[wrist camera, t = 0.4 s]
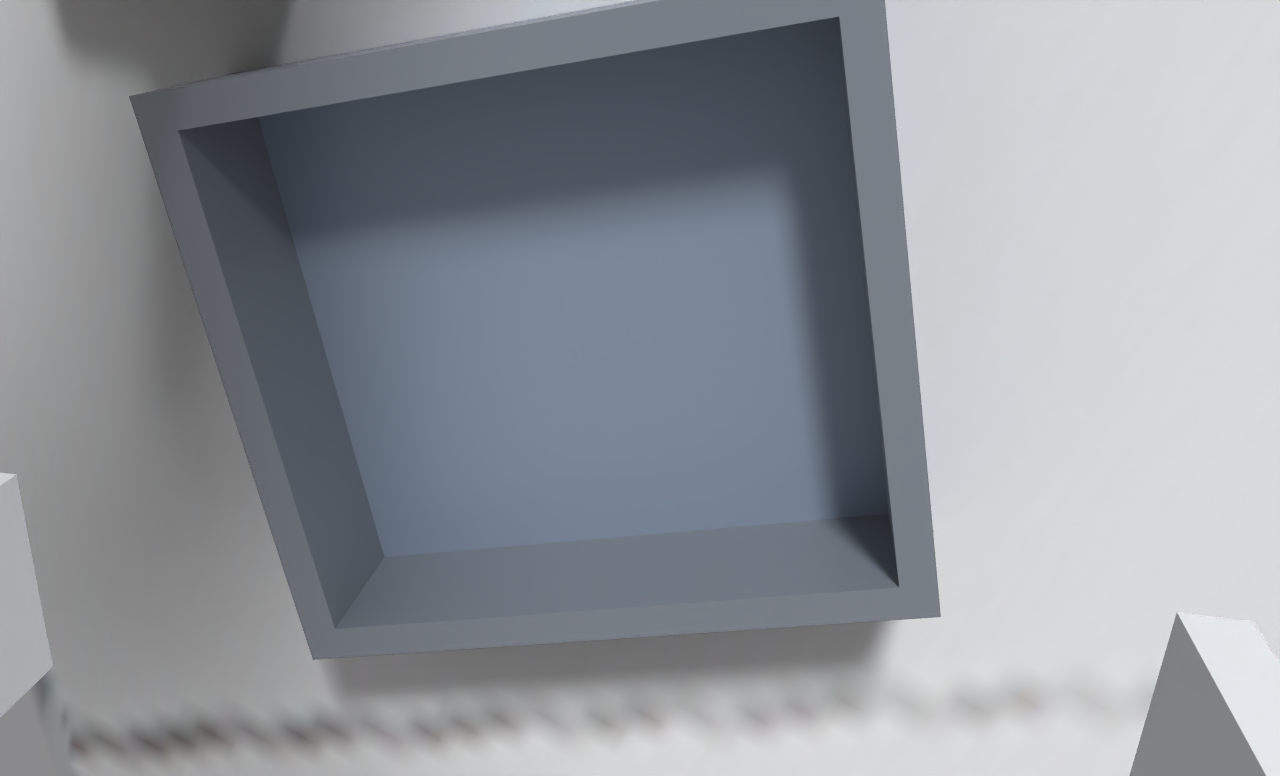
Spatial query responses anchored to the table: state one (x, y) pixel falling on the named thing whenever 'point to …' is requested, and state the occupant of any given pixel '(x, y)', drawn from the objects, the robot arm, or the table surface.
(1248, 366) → the table surface
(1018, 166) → the table surface
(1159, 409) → the table surface
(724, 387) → the open-top box
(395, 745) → the table surface
